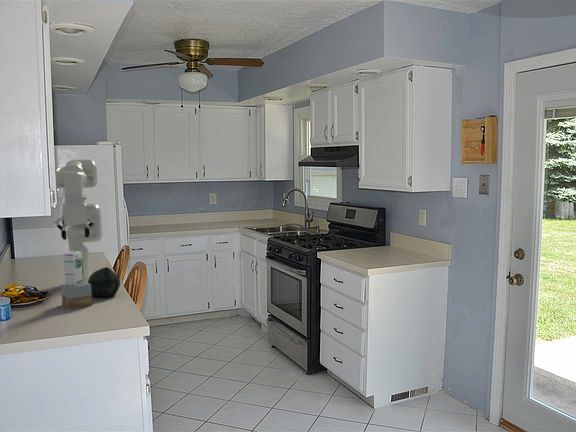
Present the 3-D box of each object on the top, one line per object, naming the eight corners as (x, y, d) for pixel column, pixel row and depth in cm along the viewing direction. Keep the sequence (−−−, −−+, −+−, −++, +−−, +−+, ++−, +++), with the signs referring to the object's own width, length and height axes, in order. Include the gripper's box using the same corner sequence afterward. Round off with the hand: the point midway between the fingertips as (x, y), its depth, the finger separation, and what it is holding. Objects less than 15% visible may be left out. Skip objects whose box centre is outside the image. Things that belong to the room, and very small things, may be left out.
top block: (60, 295, 237) (60, 284, 237) (83, 291, 244) (82, 280, 243) (68, 299, 230) (68, 287, 229) (91, 295, 236) (91, 284, 236)
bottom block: (62, 305, 238) (61, 294, 238) (84, 301, 244) (84, 291, 244) (68, 310, 230) (68, 298, 230) (91, 306, 237) (91, 295, 236)
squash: (87, 281, 261) (87, 262, 251) (119, 280, 266) (120, 261, 256) (87, 305, 252) (87, 287, 241) (120, 304, 257) (121, 285, 247)
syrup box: (75, 285, 233) (74, 253, 231) (64, 285, 234) (62, 252, 233) (84, 282, 238) (82, 251, 237) (72, 282, 240) (71, 250, 238)
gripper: (90, 198, 242) (92, 235, 244) (50, 200, 231) (52, 239, 233) (96, 199, 236) (98, 237, 238) (55, 201, 225) (57, 241, 227)
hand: (75, 238), depth 235 cm, fingers open, 9 cm apart
